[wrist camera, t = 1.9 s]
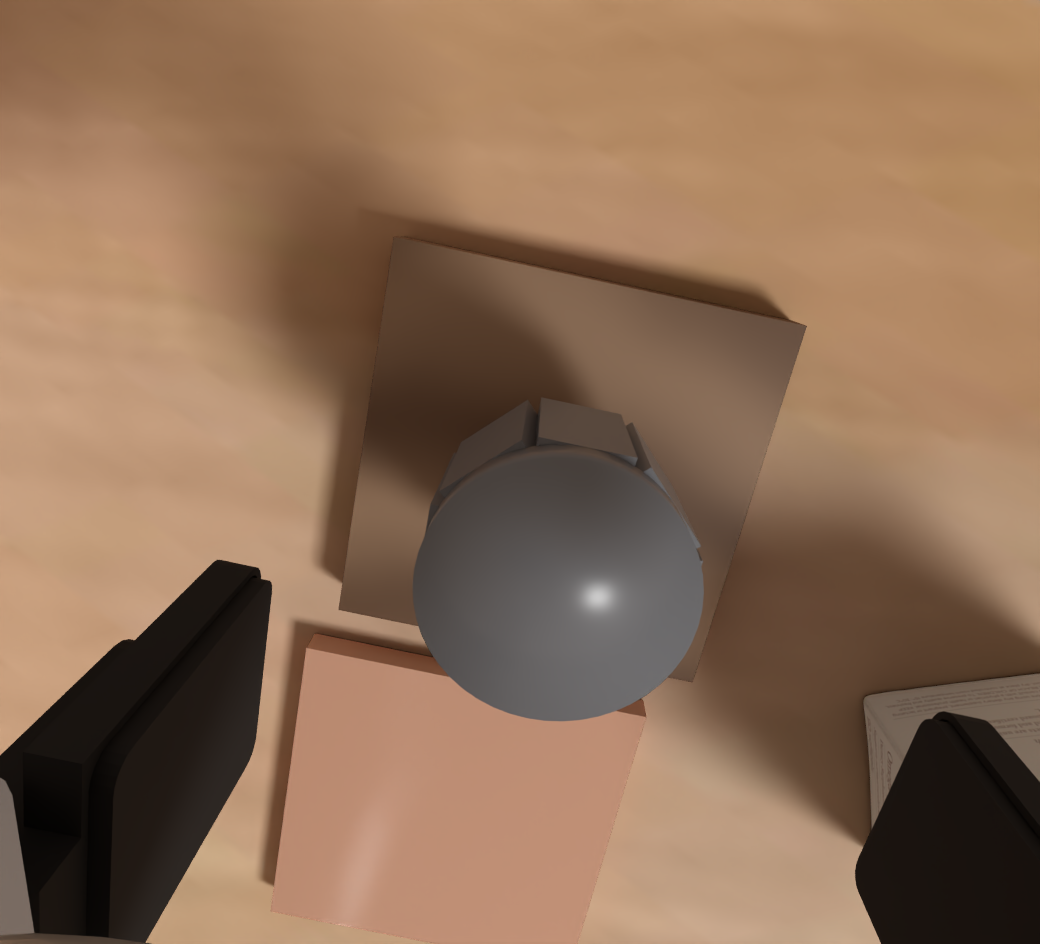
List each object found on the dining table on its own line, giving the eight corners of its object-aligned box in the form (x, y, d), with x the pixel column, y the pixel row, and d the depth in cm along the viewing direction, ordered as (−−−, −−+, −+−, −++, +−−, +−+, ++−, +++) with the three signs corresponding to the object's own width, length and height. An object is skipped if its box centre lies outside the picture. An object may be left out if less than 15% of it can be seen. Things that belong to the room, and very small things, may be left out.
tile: (569, 947, 31) (569, 970, 30) (279, 890, 30) (270, 911, 30) (643, 700, 27) (646, 717, 26) (315, 633, 27) (306, 647, 26)
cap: (636, 630, 21) (660, 745, 17) (428, 588, 21) (392, 690, 16) (694, 429, 19) (740, 492, 15) (467, 381, 19) (438, 429, 15)
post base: (685, 658, 27) (742, 843, 18) (350, 589, 26) (259, 747, 18) (791, 320, 23) (920, 366, 15) (403, 236, 23) (320, 237, 15)
